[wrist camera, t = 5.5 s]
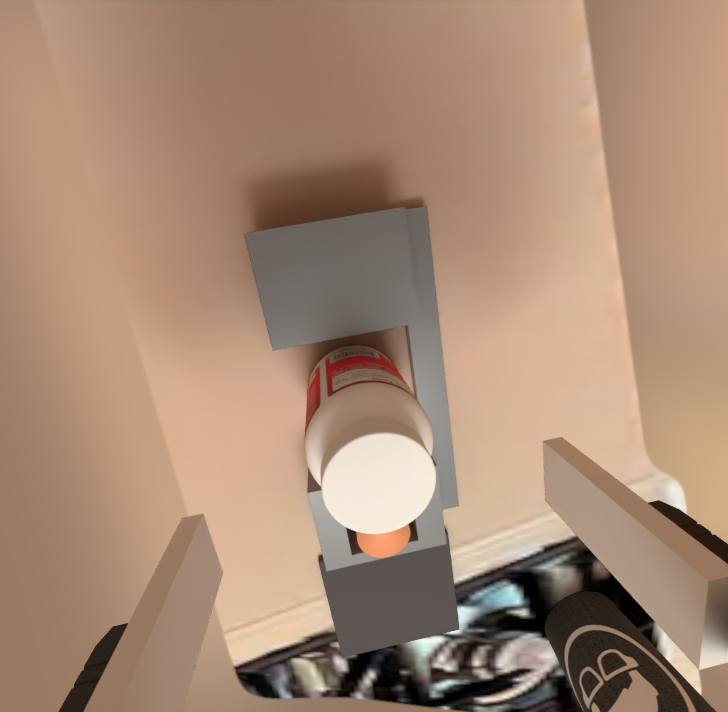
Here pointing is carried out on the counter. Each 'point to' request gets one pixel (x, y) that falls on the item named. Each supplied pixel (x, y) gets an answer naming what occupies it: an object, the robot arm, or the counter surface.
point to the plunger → (384, 542)
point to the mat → (392, 599)
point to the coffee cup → (614, 660)
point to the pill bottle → (368, 441)
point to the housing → (362, 330)
